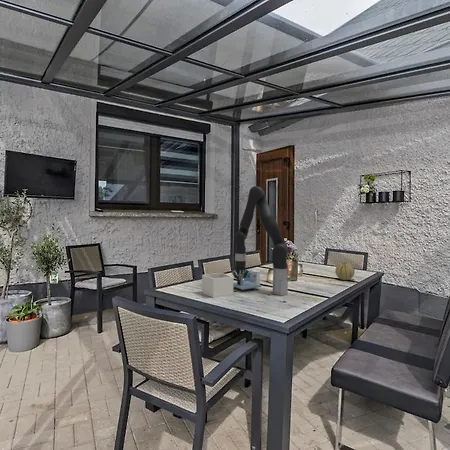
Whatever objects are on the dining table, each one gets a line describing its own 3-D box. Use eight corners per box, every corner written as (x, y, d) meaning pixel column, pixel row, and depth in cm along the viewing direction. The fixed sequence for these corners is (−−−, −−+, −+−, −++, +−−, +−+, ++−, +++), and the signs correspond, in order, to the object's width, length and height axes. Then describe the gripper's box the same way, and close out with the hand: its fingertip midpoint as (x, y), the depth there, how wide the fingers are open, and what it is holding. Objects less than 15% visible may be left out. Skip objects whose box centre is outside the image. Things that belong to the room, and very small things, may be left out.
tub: (233, 295, 219) (233, 276, 218) (213, 297, 211) (213, 278, 211) (221, 290, 232) (221, 272, 231) (201, 292, 224) (202, 274, 223)
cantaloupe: (351, 278, 280) (352, 260, 279) (356, 282, 265) (357, 263, 264) (333, 277, 281) (333, 260, 280) (337, 281, 266) (337, 262, 266)
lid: (261, 287, 234) (261, 277, 234) (242, 289, 226) (242, 279, 226) (247, 282, 248) (247, 273, 248) (229, 284, 239) (229, 275, 239)
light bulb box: (243, 284, 251) (243, 270, 250) (247, 282, 257) (247, 268, 256) (256, 286, 246) (257, 271, 245) (260, 284, 252) (260, 270, 251)
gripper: (235, 261, 227) (234, 286, 228) (251, 259, 234) (251, 284, 235) (229, 259, 233) (228, 284, 234) (245, 258, 240) (244, 282, 241)
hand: (240, 284), depth 234 cm, fingers closed on lid, 1 cm apart
